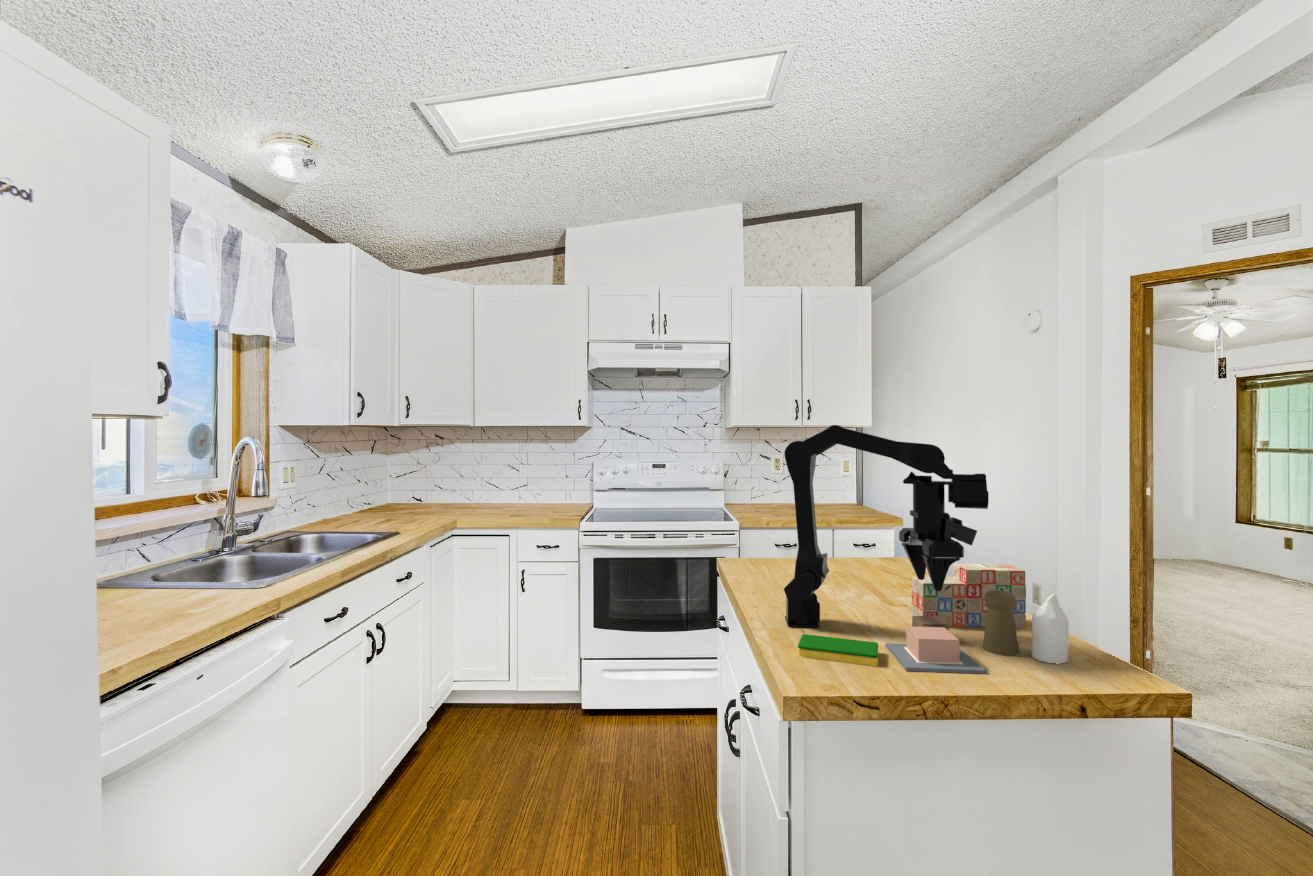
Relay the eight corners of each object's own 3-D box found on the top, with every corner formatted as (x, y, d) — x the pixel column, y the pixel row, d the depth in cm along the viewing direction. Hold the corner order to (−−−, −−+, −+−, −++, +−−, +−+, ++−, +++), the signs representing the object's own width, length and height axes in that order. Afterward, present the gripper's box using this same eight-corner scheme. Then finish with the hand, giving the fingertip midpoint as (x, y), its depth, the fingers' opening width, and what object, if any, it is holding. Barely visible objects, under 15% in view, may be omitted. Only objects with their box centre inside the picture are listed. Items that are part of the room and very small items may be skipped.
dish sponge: (877, 669, 101) (877, 655, 101) (797, 658, 106) (797, 645, 106) (878, 655, 107) (878, 642, 107) (802, 645, 112) (802, 633, 112)
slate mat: (905, 670, 99) (905, 666, 99) (885, 646, 110) (885, 642, 110) (985, 673, 97) (985, 669, 97) (956, 648, 109) (956, 644, 109)
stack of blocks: (922, 626, 123) (922, 568, 123) (911, 617, 129) (911, 562, 129) (1026, 628, 121) (1026, 569, 121) (1010, 619, 128) (1009, 563, 128)
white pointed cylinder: (1029, 586, 108) (1065, 590, 105) (1030, 650, 108) (1066, 655, 105) (1032, 594, 103) (1070, 597, 100) (1033, 661, 103) (1071, 666, 100)
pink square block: (918, 661, 101) (918, 638, 101) (906, 647, 108) (906, 626, 108) (959, 663, 100) (959, 640, 100) (944, 649, 107) (944, 627, 107)
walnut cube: (922, 644, 112) (922, 623, 112) (912, 635, 117) (912, 616, 117) (948, 644, 112) (948, 623, 112) (937, 635, 117) (937, 616, 117)
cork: (1015, 646, 110) (1014, 588, 110) (1023, 657, 104) (1023, 596, 104) (979, 642, 112) (978, 586, 112) (986, 653, 106) (985, 594, 106)
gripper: (993, 512, 104) (994, 598, 104) (952, 502, 123) (952, 575, 123) (929, 512, 106) (930, 597, 106) (898, 501, 124) (898, 574, 124)
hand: (929, 584), depth 114 cm, fingers open, 9 cm apart
